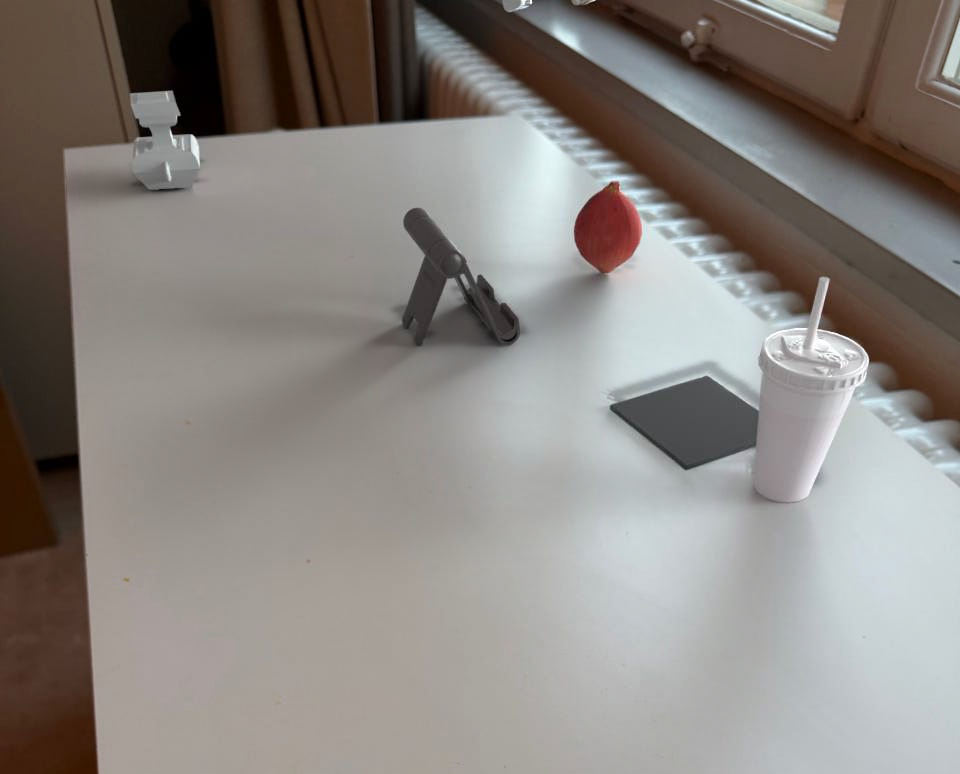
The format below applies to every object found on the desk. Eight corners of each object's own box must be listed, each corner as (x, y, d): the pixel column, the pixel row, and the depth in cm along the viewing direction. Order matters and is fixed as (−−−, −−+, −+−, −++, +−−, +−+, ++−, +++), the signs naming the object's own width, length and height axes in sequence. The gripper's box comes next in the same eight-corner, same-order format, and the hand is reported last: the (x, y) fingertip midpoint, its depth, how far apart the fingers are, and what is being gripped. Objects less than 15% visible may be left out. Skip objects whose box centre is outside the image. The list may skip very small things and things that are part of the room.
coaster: (706, 379, 78) (707, 374, 78) (787, 435, 73) (788, 430, 72) (609, 409, 75) (609, 404, 75) (686, 470, 69) (687, 465, 69)
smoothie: (770, 448, 72) (817, 249, 62) (850, 488, 68) (913, 284, 58) (712, 484, 68) (752, 280, 59) (793, 527, 65) (850, 319, 55)
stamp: (205, 197, 104) (190, 107, 98) (137, 202, 103) (118, 111, 97) (202, 166, 111) (187, 80, 105) (138, 171, 109) (120, 84, 104)
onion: (563, 280, 91) (569, 187, 85) (581, 255, 95) (588, 164, 89) (627, 291, 89) (638, 196, 84) (643, 264, 93) (654, 173, 88)
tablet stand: (520, 345, 82) (524, 241, 76) (426, 361, 80) (423, 255, 74) (482, 298, 88) (483, 198, 82) (394, 312, 86) (388, 211, 80)
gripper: (454, -230, 70) (505, -2, 75) (616, -207, 83) (650, -14, 88) (391, -186, 74) (443, 27, 79) (554, -170, 87) (590, 12, 93)
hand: (553, 6), depth 84 cm, fingers open, 8 cm apart
